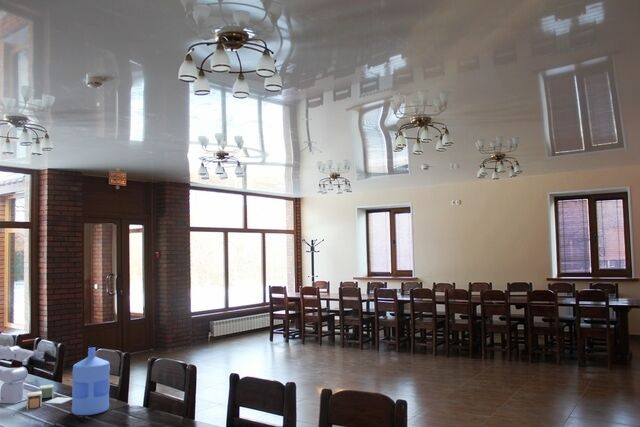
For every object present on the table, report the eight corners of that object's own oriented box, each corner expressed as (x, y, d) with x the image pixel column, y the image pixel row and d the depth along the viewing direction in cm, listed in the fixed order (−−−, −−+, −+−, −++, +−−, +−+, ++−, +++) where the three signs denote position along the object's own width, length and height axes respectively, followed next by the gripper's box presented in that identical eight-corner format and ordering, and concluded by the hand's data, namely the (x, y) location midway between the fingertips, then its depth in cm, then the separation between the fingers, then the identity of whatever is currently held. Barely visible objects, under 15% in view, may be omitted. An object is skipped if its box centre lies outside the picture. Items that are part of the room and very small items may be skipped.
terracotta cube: (29, 406, 247) (29, 397, 247) (38, 405, 249) (39, 396, 249) (29, 408, 243) (29, 399, 244) (39, 407, 245) (39, 398, 246)
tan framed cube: (26, 405, 247) (27, 392, 248) (41, 404, 250) (41, 391, 251) (26, 409, 242) (27, 395, 243) (41, 407, 245) (41, 393, 245)
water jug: (72, 408, 242) (73, 346, 244) (108, 404, 248) (109, 344, 251) (70, 417, 228) (72, 352, 230) (109, 413, 234) (110, 349, 236)
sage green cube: (39, 398, 261) (39, 385, 261) (52, 396, 264) (53, 384, 264) (39, 400, 256) (39, 388, 256) (53, 399, 258) (53, 386, 259)
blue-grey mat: (44, 403, 251) (44, 402, 251) (57, 398, 260) (57, 397, 260) (60, 404, 250) (61, 403, 250) (73, 399, 258) (73, 398, 258)
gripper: (15, 352, 248) (39, 357, 245) (39, 344, 262) (62, 349, 259) (14, 366, 248) (37, 372, 245) (38, 358, 262) (60, 364, 259)
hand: (50, 362), depth 252 cm, fingers open, 7 cm apart
